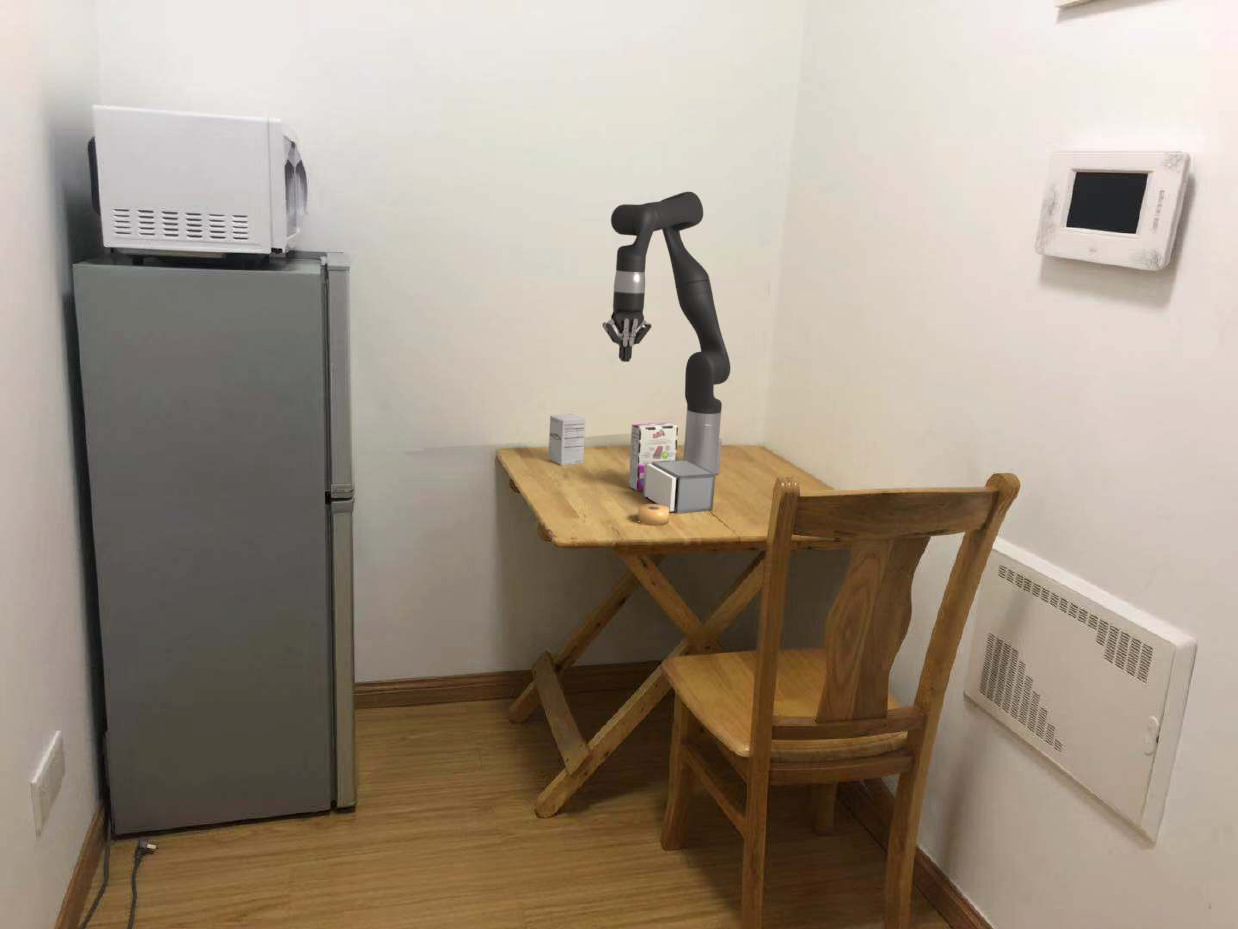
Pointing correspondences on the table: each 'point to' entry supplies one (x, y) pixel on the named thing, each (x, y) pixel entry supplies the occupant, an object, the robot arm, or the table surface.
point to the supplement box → (566, 439)
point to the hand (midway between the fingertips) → (625, 361)
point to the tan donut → (653, 514)
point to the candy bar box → (650, 448)
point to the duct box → (690, 485)
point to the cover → (659, 486)
